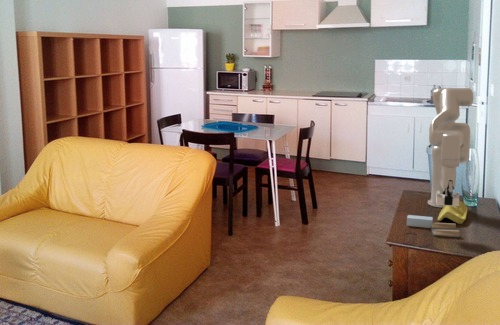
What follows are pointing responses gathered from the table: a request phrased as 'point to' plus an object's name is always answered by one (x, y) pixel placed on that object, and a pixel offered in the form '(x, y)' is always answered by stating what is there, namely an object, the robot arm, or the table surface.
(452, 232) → the assembly jig
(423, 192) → the table surface
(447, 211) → the plastic component
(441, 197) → the white i-beam block
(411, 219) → the light blue rectangular block
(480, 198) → the table surface
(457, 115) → the robot arm
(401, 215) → the table surface
